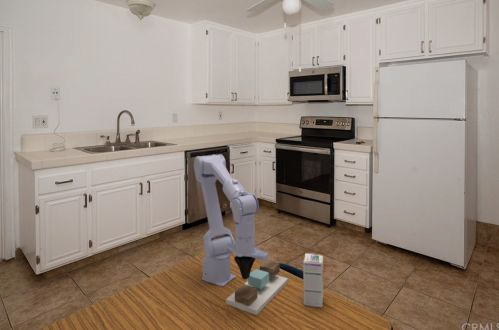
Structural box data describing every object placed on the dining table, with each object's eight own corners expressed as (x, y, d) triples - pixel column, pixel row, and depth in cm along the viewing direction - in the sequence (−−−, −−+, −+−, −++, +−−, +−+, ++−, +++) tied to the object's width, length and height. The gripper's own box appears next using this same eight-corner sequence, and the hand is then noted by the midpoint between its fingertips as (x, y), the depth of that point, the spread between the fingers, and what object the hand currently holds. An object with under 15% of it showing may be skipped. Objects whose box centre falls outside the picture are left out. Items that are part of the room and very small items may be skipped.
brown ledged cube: (234, 301, 97) (234, 291, 97) (243, 293, 101) (243, 283, 101) (248, 306, 95) (248, 296, 94) (257, 297, 99) (257, 288, 98)
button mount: (226, 303, 99) (225, 293, 98) (260, 274, 116) (260, 265, 116) (256, 315, 93) (256, 304, 92) (287, 282, 110) (288, 273, 110)
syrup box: (322, 308, 96) (323, 262, 94) (302, 305, 97) (303, 260, 95) (322, 297, 101) (324, 254, 99) (304, 295, 103) (304, 252, 100)
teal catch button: (248, 284, 103) (247, 275, 103) (256, 277, 107) (255, 268, 107) (261, 288, 101) (261, 279, 100) (269, 281, 105) (269, 272, 104)
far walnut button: (259, 274, 110) (259, 265, 109) (266, 268, 114) (266, 260, 113) (272, 278, 107) (272, 269, 106) (279, 272, 111) (279, 263, 111)
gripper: (217, 234, 95) (218, 277, 97) (259, 245, 88) (259, 290, 90) (231, 227, 101) (232, 267, 103) (271, 236, 93) (271, 279, 96)
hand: (245, 277), depth 97 cm, fingers closed
